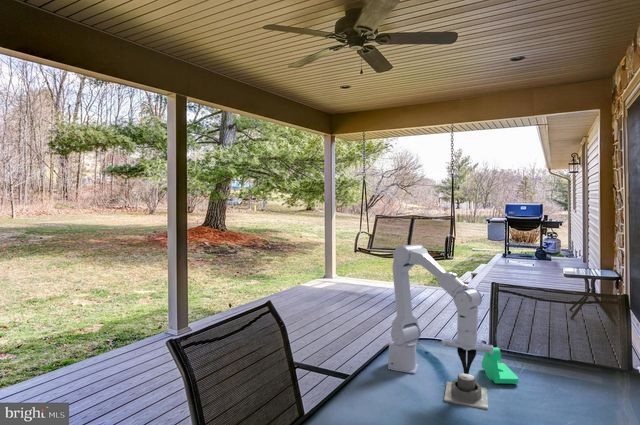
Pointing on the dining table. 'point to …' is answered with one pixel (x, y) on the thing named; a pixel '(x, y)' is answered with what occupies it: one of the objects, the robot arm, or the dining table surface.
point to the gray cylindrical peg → (466, 382)
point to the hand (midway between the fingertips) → (466, 372)
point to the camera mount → (497, 368)
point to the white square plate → (466, 395)
